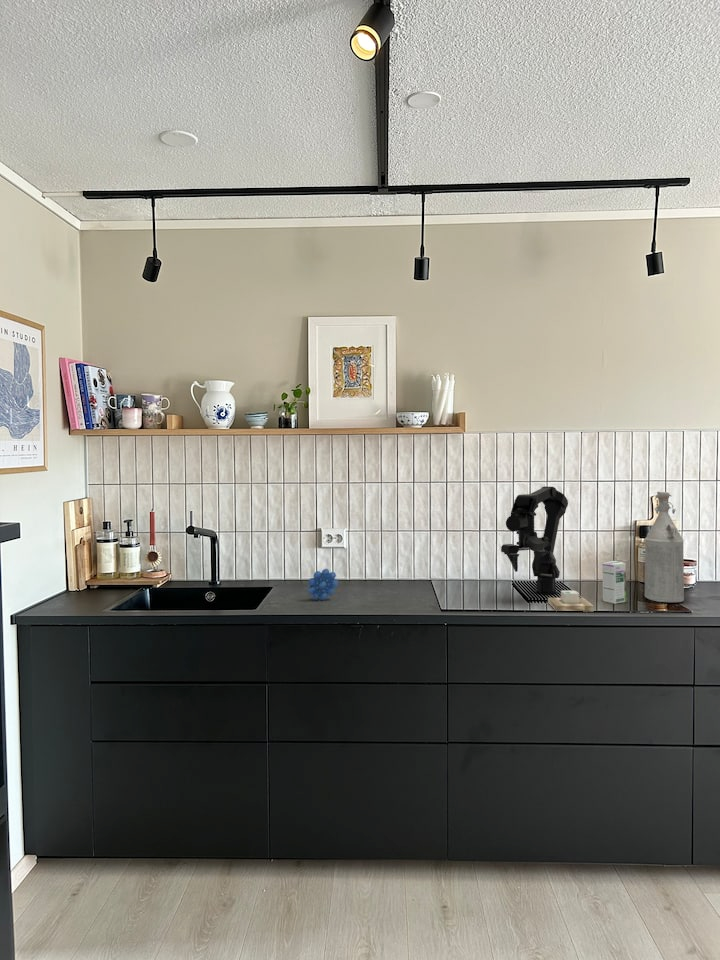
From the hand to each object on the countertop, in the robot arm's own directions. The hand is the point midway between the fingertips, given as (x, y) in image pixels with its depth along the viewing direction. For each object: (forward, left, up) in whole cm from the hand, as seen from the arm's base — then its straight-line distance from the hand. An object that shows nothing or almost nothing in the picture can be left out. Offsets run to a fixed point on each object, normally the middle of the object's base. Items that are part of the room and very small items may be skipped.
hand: (526, 570), depth 234 cm
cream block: (-6, +16, -11) cm, 21 cm away
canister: (-45, +21, -11) cm, 51 cm away
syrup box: (-26, +16, -11) cm, 33 cm away
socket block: (-6, +16, -11) cm, 20 cm away
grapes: (+69, -34, -11) cm, 77 cm away
